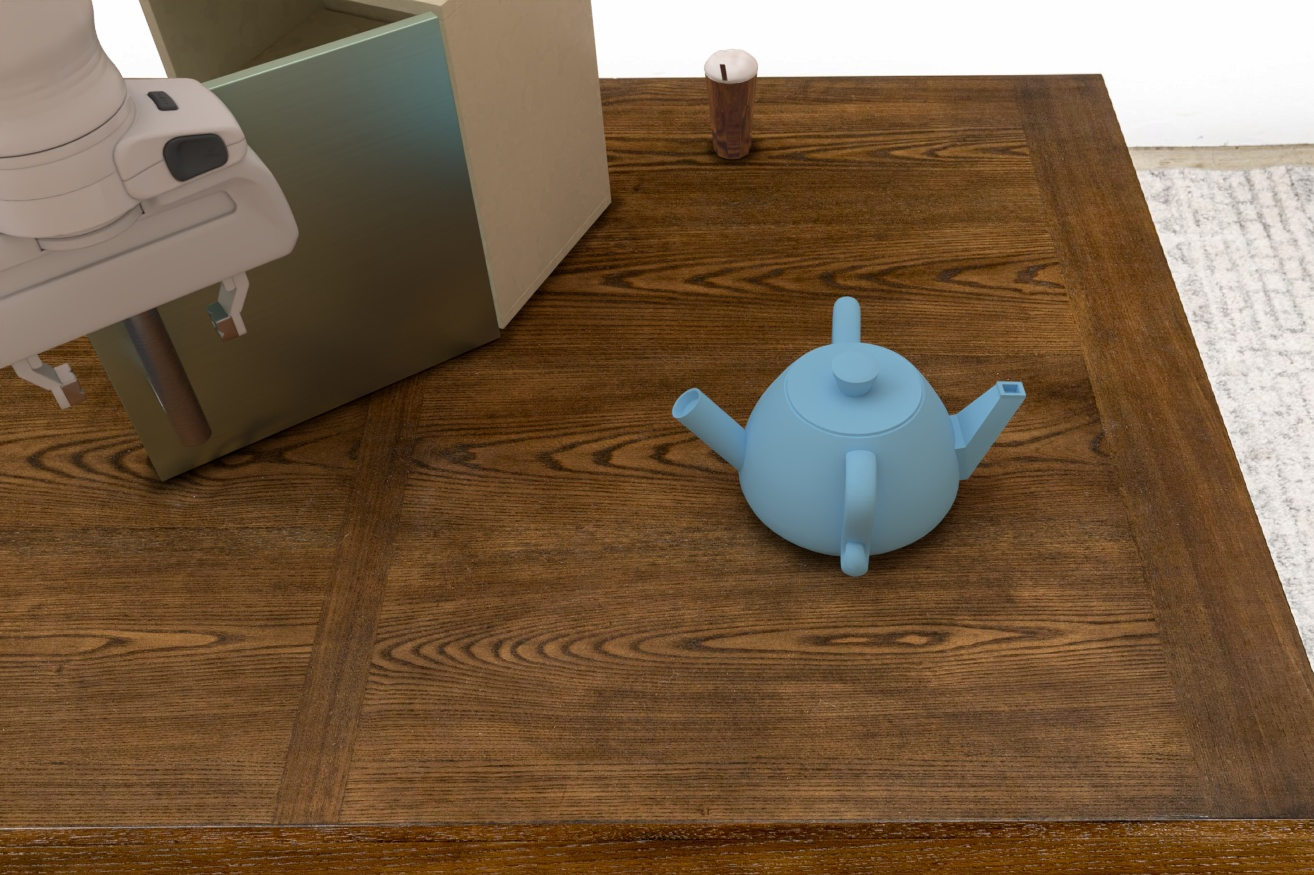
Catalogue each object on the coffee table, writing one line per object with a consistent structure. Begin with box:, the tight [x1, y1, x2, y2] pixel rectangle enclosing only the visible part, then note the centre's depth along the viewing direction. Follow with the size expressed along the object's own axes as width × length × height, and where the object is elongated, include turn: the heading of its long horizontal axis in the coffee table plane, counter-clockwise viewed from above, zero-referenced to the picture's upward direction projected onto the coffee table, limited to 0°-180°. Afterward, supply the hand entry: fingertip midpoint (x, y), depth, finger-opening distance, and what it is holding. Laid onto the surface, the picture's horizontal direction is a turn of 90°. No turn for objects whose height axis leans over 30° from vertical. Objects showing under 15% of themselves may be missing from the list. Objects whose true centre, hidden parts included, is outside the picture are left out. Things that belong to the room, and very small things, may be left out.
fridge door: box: [86, 11, 502, 482], centre depth 81 cm, size 7×26×26 cm, turn 124°
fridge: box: [138, 0, 612, 330], centre depth 97 cm, size 18×26×26 cm
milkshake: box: [703, 48, 759, 160], centre depth 109 cm, size 4×5×10 cm
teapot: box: [671, 296, 1027, 578], centre depth 81 cm, size 15×17×11 cm
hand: (153, 365), depth 74 cm, fingers open, 8 cm apart
